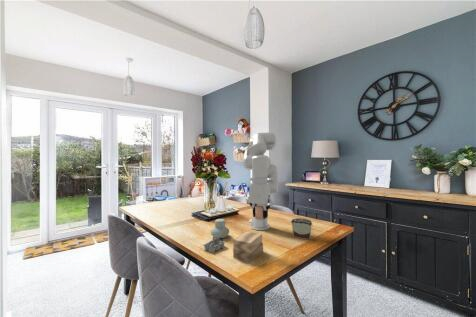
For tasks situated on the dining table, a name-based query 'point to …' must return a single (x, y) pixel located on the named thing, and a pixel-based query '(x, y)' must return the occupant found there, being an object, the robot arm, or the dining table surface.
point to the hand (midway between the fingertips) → (260, 216)
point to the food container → (301, 228)
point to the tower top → (247, 241)
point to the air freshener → (220, 229)
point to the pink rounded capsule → (259, 212)
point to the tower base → (248, 254)
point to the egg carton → (211, 244)
